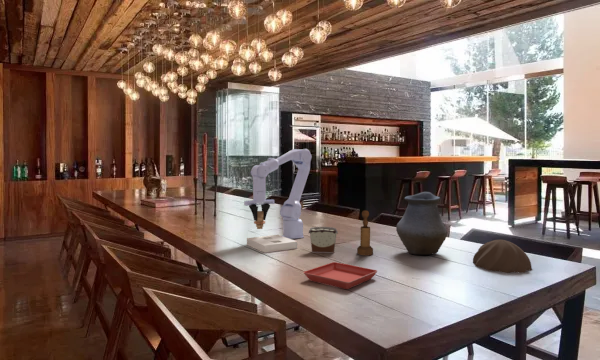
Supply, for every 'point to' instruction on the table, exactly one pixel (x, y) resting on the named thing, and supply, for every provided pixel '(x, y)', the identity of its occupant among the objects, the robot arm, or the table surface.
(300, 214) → the robot arm
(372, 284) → the table surface
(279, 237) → the hole board
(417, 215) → the grey ceramic jar
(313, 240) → the food container
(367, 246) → the brown wooden tall figure
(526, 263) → the decorative dome
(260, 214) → the oak peg
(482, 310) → the table surface
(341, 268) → the plant saucer
